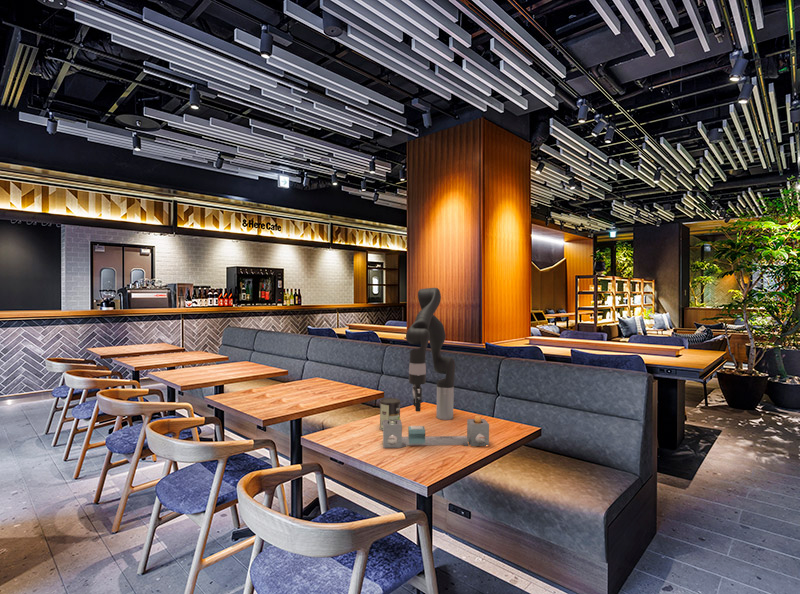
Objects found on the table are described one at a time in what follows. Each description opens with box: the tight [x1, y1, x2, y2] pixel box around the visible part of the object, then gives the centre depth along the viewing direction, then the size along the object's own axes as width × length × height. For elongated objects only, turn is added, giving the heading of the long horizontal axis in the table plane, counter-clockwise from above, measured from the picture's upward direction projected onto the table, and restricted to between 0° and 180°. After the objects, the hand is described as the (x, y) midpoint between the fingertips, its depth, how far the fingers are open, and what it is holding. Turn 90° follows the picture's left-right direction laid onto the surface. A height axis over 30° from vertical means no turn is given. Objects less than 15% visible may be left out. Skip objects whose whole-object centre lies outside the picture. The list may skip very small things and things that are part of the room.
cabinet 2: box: [466, 418, 490, 447], centre depth 189 cm, size 9×8×10 cm
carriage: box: [407, 425, 426, 444], centre depth 187 cm, size 5×7×6 cm
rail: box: [402, 435, 469, 448], centre depth 188 cm, size 6×30×3 cm, turn 94°
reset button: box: [474, 414, 482, 423], centre depth 189 cm, size 3×3×4 cm
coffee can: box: [379, 397, 401, 431], centre depth 209 cm, size 10×10×14 cm
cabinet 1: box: [382, 419, 403, 449], centre depth 186 cm, size 9×8×11 cm
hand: (416, 408), depth 187 cm, fingers open, 8 cm apart
